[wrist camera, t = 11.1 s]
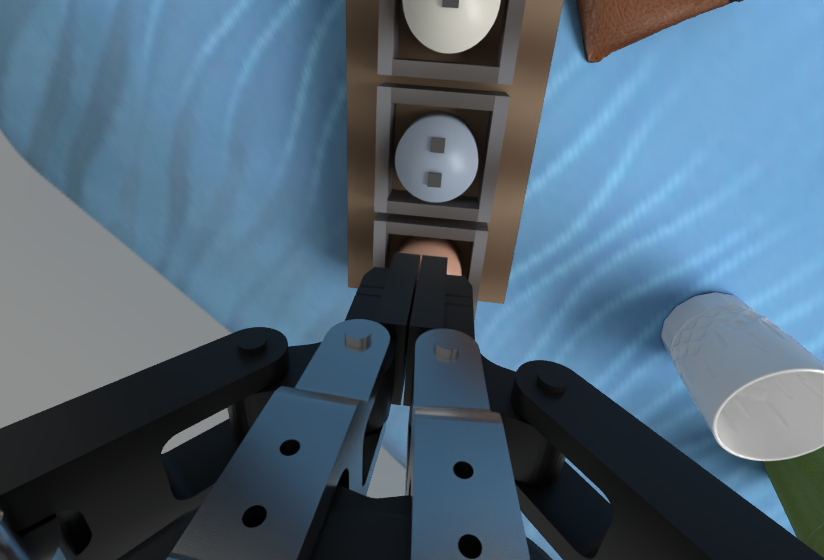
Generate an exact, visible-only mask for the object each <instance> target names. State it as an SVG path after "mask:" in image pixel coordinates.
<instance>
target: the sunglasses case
mask: <svg viewBox="0 0 824 560" xmlns="http://www.w3.org/2000/svg"><path fill="white" fill-rule="evenodd" d="M576 1H577V7H578V11H579V16H580V23H581V27H582V34H583V43H584V50H585V55H586V58H587V61H588V62H590V63H594V62H599V61H601V60H602V59H603V58H604V57H607V56H608V55H609V54H611V53H612V52H614V51H616V50H619V49H621V48H624V47H626V46H628V45H630V44H632V43H635V42H637V41H639V40H641V39H644V38H646V37H648V36H650V35H653V34H654V33H657V32H659V31H661V30H663V29H665V28H668V27H670V26H673V25H676V24H678V23H680V22H682V21H684V20H686V19H689V18H692V17H695V16H697V15H699V14H702V13H705V12H708V11H710V10H713V9H716V8H719V7H723V6H725V5H727V4H729V3H732V2H735V1H738V2H740V1H743V0H576Z"/></svg>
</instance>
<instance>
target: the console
mask: <svg viewBox="0 0 824 560" xmlns="http://www.w3.org/2000/svg"><path fill="white" fill-rule="evenodd" d="M562 5H563V0H501V2H500V7H499V11H498V14H497V17H496V19H495V22H494V24H493V25H492V27H491V29H490V30H489V32H488V33H487V34H486V36H485V37H484V38H483V39H482V40H481V41H480V42H478V43H477V44H476V45H474V46H473V47H471V48H469V49H467V50H465V51H462V52H458V53H440V52H437V51H434V50H432V49H430V48H428V47H426V46H425V45H423V44H422V43H421V42H420V41H419V40H418V39H417V38H416V37H415V36H414V34H413V33H412V31H411V30H410V28H409V26H408V24H407V21H406V18H405V14H404V10H403V1H402V0H346V49H347V182H348V287H351V288H359V287H360V283H361V280H362V278H363V276H364V274H366V273H367V272H368V271H370V270H371V269H373V268H374V267H381V268H390V266H391V263H392V260H393V257H394V253H395V252H397V251H398V249H399V247H400V245H401V244H402V243H403V242H404V241H405V240H406V239H407V238H409V237H411V236H420V237H430V238H440V239H449V240H451V241H452V242H453V243H454V244H455V246H456V247H457V249H458V250H459V253H460V256H461V265H462V276H465V277H466V279H467V280H468V281H469V282H470V284H471V285H472V286H473V309H474V319H475V313H476V306H477V301H484V302H493V303H503V304H504V301H505V295H506V290H507V285H508V280H509V275H510V270H511V265H512V260H513V255H514V250H515V245H516V239H517V234H518V229H519V224H520V219H521V214H522V209H523V204H524V199H525V194H526V189H527V183H528V178H529V173H530V168H531V163H532V158H533V153H534V148H535V143H536V138H537V133H538V127H539V122H540V117H541V112H542V107H543V102H544V97H545V92H546V87H547V82H548V77H549V71H550V66H551V61H552V56H553V51H554V46H555V41H556V36H557V31H558V26H559V21H560V15H561V10H562ZM433 111H445V112H449V113H453V114H455V115H457V116H459V117H460V118H462V119H463V120H464V121H465V122H466V123H467V124H468V125H469V127H470V128H471V130H472V132H473V134H474V137H475V140H476V146H477V152H478V168H477V172H476V175H475V178H474V180H473V182H472V183H471V185H470V186H469V187H468V189H467V190H466V191H465V192H463V193H462V194H461V195H459V196H458V197H456V198H454V199H452V200H449V201H445V202H427V201H424V200H421V199H419V198H417V197H415V196H413V195H412V194H411V193H410V192H408V191H407V190H406V189H405V187H404V186H403V185H402V183H401V181H400V180H399V177H398V175H397V172H396V167H395V154H396V150H397V147H398V144H399V142H400V140H401V138H402V136H403V135H404V133H405V132H406V130H407V128H408V127H409V126H410V124H411V123H412V122H413V121H414V120H415V119H417V118H418V117H420V116H421V115H423V114H426V113H429V112H433Z"/></svg>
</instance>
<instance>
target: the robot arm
mask: <svg viewBox="0 0 824 560" xmlns="http://www.w3.org/2000/svg"><path fill="white" fill-rule="evenodd" d="M447 261H448V257H439V256H429V255H422V260H421V265H420V255H419V254H409V253H399V252H395V253H394V257H393V260H392V263H391V266H390V268H381V267H374V268H373V269H371V270H370V271H368V272H367V273H366V274H364V276H363V278H362V280H361V283H360V287H359V288H358V290H357V292H356V295H355V297H354V300H353V302H352V305H351V307H350V309H349V312H348V314H347V317H346V319H345V321H343V322H340V323H338V324H336V325H334V326H333V327H332V328H331V329H330V330H329V331H328V332H327V334H326V336H325V337H324V339H323V341H322V342H319V343H315V344H309V345H300V346H290V347H288V342H287V339H286V337H285V336H284V335H283V334H282V333H281V332H279V331H277V330H275V329H271V328H266V327H253V328H247V329H243V330H240V331H237V332H234V333H232V334H230V335H228V336H225V337H223V338H220V339H217V340H215V341H213V342H210V343H208V344H205V345H203V346H200V347H198V348H196V349H193V350H191V351H188V352H186V353H183V354H181V355H179V356H176V357H174V358H171V359H169V360H166V361H164V362H161V363H159V364H157V365H154V366H152V367H149V368H147V369H144V370H142V371H140V372H137V373H135V374H132V375H130V376H128V377H125V378H123V379H120V380H118V381H115V382H113V383H110V384H108V385H105V386H103V387H101V388H98V389H96V390H93V391H91V392H89V393H86V394H84V395H81V396H79V397H76V398H74V399H72V400H69V401H66V402H64V403H62V404H60V405H57V406H54V407H52V408H50V409H47V410H45V411H42V412H40V413H37V414H35V415H32V416H30V417H28V418H25V419H23V420H20V421H18V422H15V423H13V424H11V425H8V426H6V427H3V428H1V429H0V560H552V559H551V558H550V556H549V555H548V554H547V553H546V552H545V551H543V550H542V549H541V548H540V547H539V546H537V545H536V544H535V543H534V542H533V541H531V540H530V539H529V538H527V537H526V536H525V531H524V526H523V521H522V516H521V512H522V513H523V514H524V515H525V516H526V517H527V519H528V520H529V521H530V522H531V523H532V524H533V525H534V527H535V528H536V529H537V530H538V531H539V532H540V534H541V535H542V536H543V537H544V538H545V539H546V541H547V542H548V543H549V544H550V545H551V546H552V547H553V549H554V550H555V551H556V552H557V553H558V554H559V556H560V557H561V558H562V559H563V560H824V558H823V557H822V556H821V555H819V554H818V553H816V552H815V551H814V550H812V549H811V548H810V547H808V546H807V545H806V544H804V543H803V542H802V541H800V540H799V539H798V538H796V537H795V536H794V535H792V534H791V533H790V532H788V531H787V530H786V529H784V528H783V527H782V526H780V525H779V524H778V523H776V522H775V521H774V520H772V519H771V518H770V517H768V516H767V515H766V514H764V513H763V512H761V511H760V510H759V509H757V508H756V507H755V506H753V505H752V504H751V503H749V502H748V501H747V500H745V499H744V498H743V497H741V496H740V495H739V494H737V493H736V492H735V491H733V490H732V489H731V488H729V487H728V486H727V485H725V484H724V483H723V482H721V481H720V480H719V479H717V478H716V477H715V476H713V475H712V474H710V473H709V472H708V471H706V470H705V469H704V468H702V467H701V466H700V465H698V464H697V463H696V462H694V461H693V460H692V459H690V458H689V457H688V456H686V455H685V454H684V453H682V452H681V451H680V450H678V449H677V448H676V447H674V446H673V445H672V444H670V443H669V442H668V441H666V440H665V439H664V438H662V437H661V436H659V435H658V434H657V433H655V432H654V431H653V430H651V429H650V428H649V427H647V426H646V425H645V424H643V423H642V422H641V421H639V420H638V419H637V418H635V417H634V416H633V415H631V414H630V413H629V412H627V411H626V410H625V409H623V408H622V407H621V406H619V405H618V404H617V403H615V402H614V401H613V400H611V399H610V398H609V397H607V396H606V395H604V394H603V393H602V392H600V391H599V390H598V389H596V388H595V387H594V386H592V385H591V384H590V383H588V382H587V381H586V380H584V379H583V378H582V377H580V376H579V375H578V374H576V373H575V372H574V371H572V370H571V369H569V368H567V367H565V366H563V365H560V364H558V363H555V362H551V361H544V360H535V361H529V362H526V363H524V364H523V365H521V366H520V367H519V368H518V370H517V372H515V371H512V370H509V369H506V368H503V367H501V366H498V365H496V364H494V363H492V362H490V361H489V360H487V359H486V358H485V357H484V356H483V355H482V354H481V353H480V349H479V346H478V344H477V343H476V342H475V333H474V309H473V286H472V285H471V284H470V282H469V281H468V280H467V279H466V277H465V276H457V275H448V274H447ZM419 269H420V271H419ZM405 375H406V377H405ZM404 381H405V390H404V403H403V405H406V406H410V412H409V423H408V435H407V457H406V480H405V496H398V497H388V498H378V499H377V498H370V497H367V496H366V495H367V491H368V488H369V484H370V481H371V478H372V474H373V471H374V467H375V464H376V461H377V457H378V454H379V450H380V447H381V444H382V440H383V437H384V433H385V428H386V420H387V419H388V416H389V411H390V406H391V404H396V405H401V399H402V393H403V387H404ZM225 408H228V413H229V419H228V420H226V421H224V422H222V423H220V424H218V425H216V426H215V427H213V428H211V429H209V430H207V431H205V432H203V433H202V434H200V435H198V436H196V437H194V438H192V439H190V440H189V441H187V442H185V443H183V444H181V445H179V446H178V447H176V448H174V449H172V450H170V451H168V452H166V453H164V454H161V452H162V449H163V447H164V445H165V444H166V443H167V442H168V440H170V439H171V438H172V437H173V436H174V435H176V434H177V433H179V432H181V431H183V430H185V429H187V428H189V427H191V426H192V425H194V424H196V423H198V422H200V421H202V420H204V419H206V418H208V417H210V416H212V415H214V414H216V413H217V412H219V411H221V410H223V409H225ZM565 458H567V459H568V460H569V461H570V462H571V463H573V464H574V465H575V466H576V467H577V468H578V469H579V470H580V471H581V472H582V473H583V474H584V475H585V476H586V477H587V478H589V479H590V480H591V481H592V482H593V483H594V484H595V485H596V486H597V487H598V488H599V489H600V490H601V491H602V492H603V493H604V494H605V495H606V497H607V498H608V500H609V502H610V503H609V502H608V501H606V500H605V499H604V498H603V497H602V496H601V495H600V494H599V493H598V492H597V491H596V490H595V489H594V488H593V487H592V486H591V485H590V484H589V483H587V482H586V481H585V480H584V479H583V478H582V477H581V476H580V475H579V474H578V473H577V472H576V471H575V470H574V469H573V468H572V467H571V466H569V465H568V464H567V463H566V462H565ZM520 510H521V511H520Z"/></svg>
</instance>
